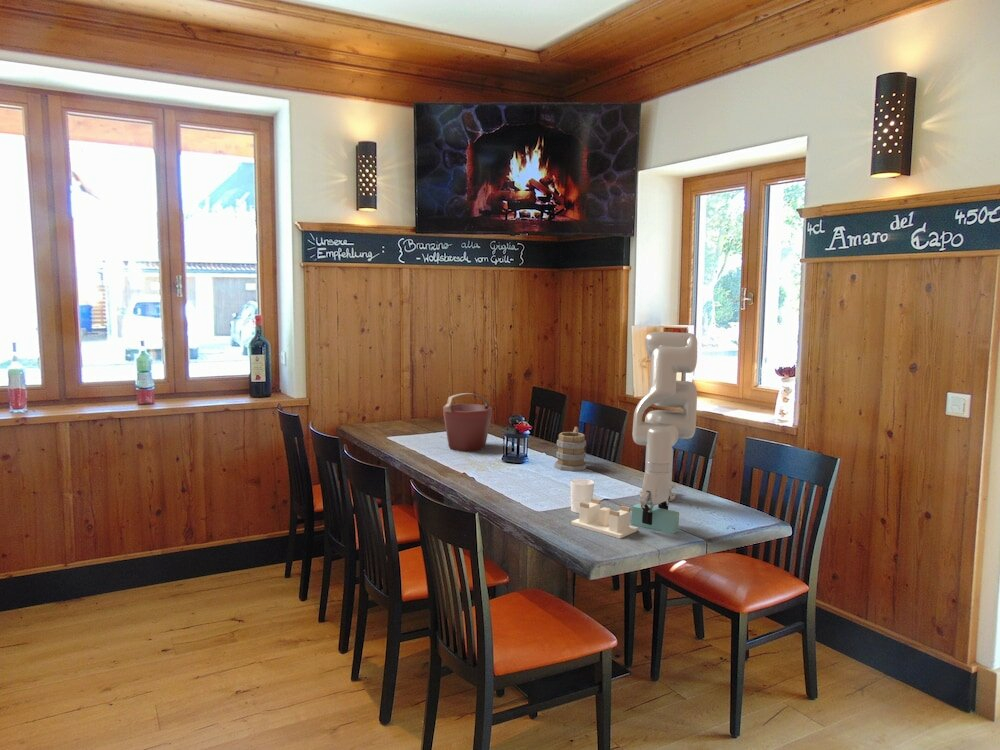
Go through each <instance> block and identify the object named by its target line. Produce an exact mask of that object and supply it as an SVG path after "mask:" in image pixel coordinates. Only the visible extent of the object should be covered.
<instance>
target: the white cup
mask: <svg viewBox="0 0 1000 750" xmlns="http://www.w3.org/2000/svg"><path fill="white" fill-rule="evenodd" d="M569 487H570V511H571V512H573V513H575V514H579V513H580V502H583V503H587V504H588V503H590V502H591V499H592V498H594V490H595V489H594V487H595V481H594V480H591V479H587V478H574V479H571V480H570V486H569Z"/></svg>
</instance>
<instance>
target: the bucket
mask: <svg viewBox="0 0 1000 750" xmlns="http://www.w3.org/2000/svg"><path fill="white" fill-rule="evenodd" d="M463 396H474V397H477V398H478V399H480V400H482V401H483V402H484V403H485V405H484V404H481V403H480V404H479V403H454V399H457V398H460V397H463ZM442 413H443V414H442V415H443V420H444V425H445V426H444V427H445V432H446V438H447V444H448V447H449V449H450V450H452V451H457V452H478V451H479V452H481V451H482V450H483V449H485V447H486V444H487V440H488V434H489V430H490V426H491V422H492V415H493V407H491V403H490V401H488V399H487V398H485V397H483V396H482V395H479V394H476V393H470V392H464V393H462V392H461V393H457V394H453V395H450V396H448V397H447V403H445V405H443V407H442Z"/></svg>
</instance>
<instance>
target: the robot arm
mask: <svg viewBox="0 0 1000 750" xmlns="http://www.w3.org/2000/svg"><path fill="white" fill-rule="evenodd" d="M644 345H645V351H646V354H647V356H648V359H649V361H650V370H649V372H650V373H649V374H650V375H649V388H648V391H647V394H645V395H644V396H643V397H642V398H641V399H640V400H639V402H638V403H637V405H636V406H635V409H634V413H633V419H632V420H633V423H632V433H631V434H632V440H633V442H634V443H635V444H636V445H639V446H645V465H644V473H643V474H644V475H643V481H642V486H641V490H640V491H639V495H638V496H639V497H640V501H639V502H640V504H641V508H642V511H643V514H642V523H644V524H648V525H652V515H653V512H651V511H652V509H653V507H655V506H656V505H658V506H657V508H662V509H667V510H669V505H670V502H672V501H675V499H676V494H675V493H673V492H672V490H673V489H674V488H676V484H675V482H672V479H673V463H674V462H673V461H674V449H673V447H674V446H675V444H676V443H677V442H678V440H679V439H681V440H683V439H684V440H685V439H686V440H689V439H692V438H693V437H694V435H695V433H696V428H697V407H698V406H697V404H698V403H697V402H698V390H697V387H696V385H695V383H694V382H692V381H688V380H677V373H684V374H685V373H687V374H691V373H693V372H694V371H695V370H696V367H697V363H698V339H697V337H696V335H695V334H694V333H691V332H674V331H653V332H649V333H646V336H645V339H644ZM653 405H654V406H657V407H663V408H678V409H682V411H680V410H679V411H676V410H665V409H663V410H662V409H661V410H660V409H655V410H651V411H649V412H647V414H645V418H644V421H643V415H644V413H645V411H646V410H647V409H648V408H649V407H651V406H653ZM648 506H650V507H648Z"/></svg>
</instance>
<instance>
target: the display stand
mask: <svg viewBox="0 0 1000 750" xmlns="http://www.w3.org/2000/svg"><path fill="white" fill-rule="evenodd" d="M578 514H579V515H578V516H579V518H576V519H573V520H571V521H570V525H572V526H575V527H579V528H582V529H585V530H589V531H592V532H596V533H599V534H602V535H603V534H604V535H605V536H610V537H614V538H617V539H622V538H624V537H626V536H629V535H631V534H633V533H636V532H638V528H639V527H638V526H637V527H636V526H635V525H634V526H633V525H631V523H630V522H631V507H630V506H626V505H620V509H619V510H614V509H611V508H609V507H605V506H604V507H601V499H597V498H595V497H593V498H592V499H591V502H590V503H588V504H587V503H583V502H580V513H578Z"/></svg>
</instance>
